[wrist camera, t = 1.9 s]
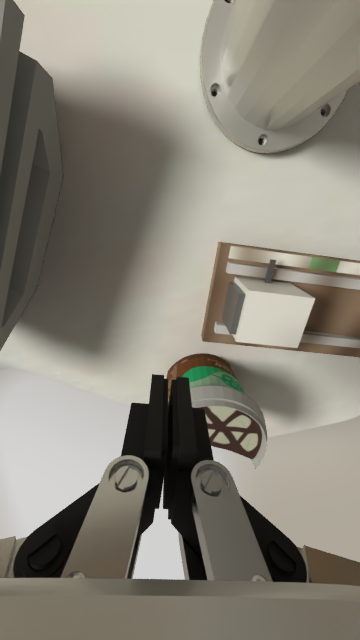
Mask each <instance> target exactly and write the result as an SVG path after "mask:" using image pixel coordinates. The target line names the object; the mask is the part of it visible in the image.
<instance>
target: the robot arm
mask: <svg viewBox="0 0 360 640" xmlns="http://www.w3.org/2000/svg"><path fill="white" fill-rule="evenodd" d="M228 1H229V2H230V3H227V2H225V0H213V3H212V6H211V9H210V12H209V14H208V17H207V20H206V24H205V29H204V34H203V38H202V47H201V55H200V76H201V83H202V89H203V94H204V98H205V101H206V103H207V106H208V109H209V112H210V114H211V115H212V117H213V119H214V121H215V123H216V125H217V126H218V127H219V128H220V130H221V131H222V132H223V133H224V134H225V136H226V137H228V138H229V139H230V140H231V141H233V142H234V143H235V144H236V145H238V146H240V147H242V148H244V149H246V150H249V151H253V152H258V153H276V152H280V151H285V150H288V149H290V148H292V147H295V146H297V145H299V144H301V143H302V142H304V141H306V140H307V139H309V138H311V137H312V136H313V135H314V134H315V133H317V132H318V131H319V130H320V129H321V128H323V127H324V125H325V124H326V123H327V122H328V121H329V120H330V119H331V118H332V116H333V115H334V114H335V112H336V110H337V109H338V107H339V106H340V104H341V103H342V101H343V100H344V98H345V95H346V93H347V91H348V89H349V88H351V87H352V86H353V85H355V84H356V83H358V82H359V81H360V0H228ZM212 91H215V92H216V95H217V96H216V97H214V96H212V95H211V92H212ZM321 111H322V113H323V114H322V115H321ZM259 139H261V140H262V145H259V143H258V140H259ZM163 479H164V489H163V509H168V519H171V524H172V525H173V526H174V527H175V528H176V529H177V531H178V532H179V543H180V550H181V556H182V563H183V569H184V575H185V580H162V579H132V578H133V573H134V569H135V564H136V559H137V554H138V550H139V546H140V541H141V535H142V533H143V532H144V531H145V530H146V529H147V528H148V527H149V526H150V525H151V524H152V523H153V518H154V512H155V508H156V509H157V508H158V509H159V504H160V497H161V491H162V484H163ZM0 640H360V562H356V561H353V560H349V559H347V558H343V557H340V556H337V555H334V554H330V553H327V552H324V551H321V550H318V549H314V548H311V547H308V546H305V545H304V546H303V548H299V547H296V545H295V544H294V543H293V542H292V541H291V540H290V539H289V538H288V537H286V536H285V535H284V534H283V533H282V532H281V531H280V530H279V529H277V528H276V527H275V526H274V525H273V524H272V523H271V522H269V521H268V520H267V519H266V518H265V517H263V515H262V514H260V513H259V512H258V511H257V510H256V509H255V508H254V507H252V506H251V505H250V504H249V503H248V502H247V501H246V500H244V499H243V498H242V497H241V496H240V495H239V493H238V490H237V488H236V485H235V483H234V480H233V477H232V476H231V474H230V472H229V471H228V470H227V469H226V467H225V466H223V465H222V464H220V463H219V462H216V461H214V460H213V455H212V449H211V443H210V438H209V432H208V427H207V421H206V415H205V410H204V408H194V407H192V402H191V393H190V384H189V378H188V377H176V380H174V379H172V381H171V388H170V395H169V402H168V379H164V375H153V374H152V382H151V391H150V401H149V404H142V403H132V404H131V409H130V414H129V419H128V424H127V429H126V434H125V439H124V444H123V449H122V454H121V457H118V458H116V459H115V460H113V461H112V462H111V463H110V464H109V465H108V467H107V468H106V470H105V472H104V474H103V477H102V479H101V481H100V483H99V484H98V485H96V486H95V487H94V488H92V489H91V490H90V491H88V492H87V493H86V494H84V495H83V496H81V497H80V498H79V499H77V500H76V501H74V502H73V503H72V504H70V505H69V506H68V507H66V508H65V509H63V510H62V511H61V512H59V513H58V514H57V515H55V516H54V517H53V518H51V519H50V520H48V521H47V522H46V523H44V524H43V525H42V526H40V527H39V528H37V529H36V530H35V531H34V532H33V533H31V534H30V535H29V536H28V537H26V538H21V539H17V540H16V538H15V536H14V537H9V538H5V539H0Z"/></svg>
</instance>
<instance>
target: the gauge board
mask: <svg viewBox="0 0 360 640" xmlns="http://www.w3.org/2000/svg"><path fill="white" fill-rule="evenodd" d="M270 259H273V260H276V264H275V267H274V271H273V274H272V278H271V281H276V282H284V283H291V284H293V285H294V286H296V287H297V288H299V289H301V290H302V291H304V292H306V293H307V294H309V295H311V296H312V297H314V298H315V301H314V304H313V306H312V309H311V312H310V315H309V318H308V320H307V323H306V326H305V329H304V332H303V334H302V337H301V340H300V343H299V346H298V348H291V347H281V346H271V345H261V344H251V343H242V342H236V341H235V339H234V337H233V335H232V334H229V332H228V330H227V327H226V325H225V323H224V321H223V319H222V314H223V309H224V305H225V300H226V295H227V291H228V286H229V282H234V279H235V276H236V277H244V278H252V279H260V280H265V277H266V273H267V270H268V266H269V262H270ZM201 336H202V340H203V341H206V342H216V343H225V344H235V345H245V346H255V347H265V348H275V349H285V350H294V351H304V352H314V353H324V354H334V355H344V356H354V357H360V261H357V260H349V259H342V258H334V257H327V256H319V255H312V254H305V253H297V252H290V251H282V250H275V249H268V248H260V247H253V246H245V245H238V244H231V243H223V242H218V248H217V253H216V259H215V264H214V269H213V275H212V280H211V286H210V291H209V297H208V302H207V307H206V313H205V318H204V324H203V329H202V335H201Z"/></svg>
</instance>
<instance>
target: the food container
mask: <svg viewBox="0 0 360 640" xmlns="http://www.w3.org/2000/svg"><path fill="white" fill-rule="evenodd" d="M176 377H188V378H189V384H190V393H191V402H192V407H194V408H204V410H205V415H206V421H207V427H208V432H209V438H210V443H211V446H214V447H218V448H222V449H226V450H230V451H233V452H236V453H238V454H241V455H243V456H246V457H248V458H250V459H251V460H252V462H253V464H254V467H255V468H257V466H258V465H259V464H260V463H261V461H262V459H263V457H264V455H265V452H266V446H267V431H266V425H265V420H264V416H263V413H262V411H261V409H260V408H259V406H258V405H257V404H256V403H255V402H254V401H253V400H252V399H251V398H250V397H248V396H247V395H245V393H244V391H243V390H242V388H241V386H240V384H239V382H238V380H237V379H236V377H235V375H234V373H233V371H232V369H231V367H230V366H229V365H228V364H227V363H226V362H225V361H224V360H223V359H221V358H220V357H217V356H215V355H211V354H194V355H190V356H187V357H184V358H182V359H180V360H179V361H178V362H176V363H175V364H174V365H173V366H172V367H171V368H170V369H169V371H168V374H167V379H168V402H169V395H170V388H171V381H172V379H174V380H176Z"/></svg>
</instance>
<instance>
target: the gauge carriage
mask: <svg viewBox="0 0 360 640" xmlns="http://www.w3.org/2000/svg"><path fill="white" fill-rule="evenodd" d="M275 264H276V260H273V259H270V262H269V266H268V270H267V273H266V277H265V280H260V279H252V278H244V277H236V276H235V279H234V282H229V286H228V291H227V295H226V300H225V305H224V309H223V314H222V319H223V321H224V323H225V325H226V327H227V330H228V332H229V334H232V335H233V337H234V339H235V341H236V342H242V343H251V344H261V345H271V346H281V347H291V348H298V346H299V343H300V340H301V337H302V334H303V332H304V329H305V326H306V323H307V320H308V318H309V315H310V312H311V309H312V306H313V304H314V301H315V298H314V297H312V296H311V295H309V294H307V293H306V292H304V291H302V290H301V289H299V288H297V287H296V286H294V285H293V284H291V283H284V282H276V281H271V278H272V274H273V271H274V267H275Z"/></svg>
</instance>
